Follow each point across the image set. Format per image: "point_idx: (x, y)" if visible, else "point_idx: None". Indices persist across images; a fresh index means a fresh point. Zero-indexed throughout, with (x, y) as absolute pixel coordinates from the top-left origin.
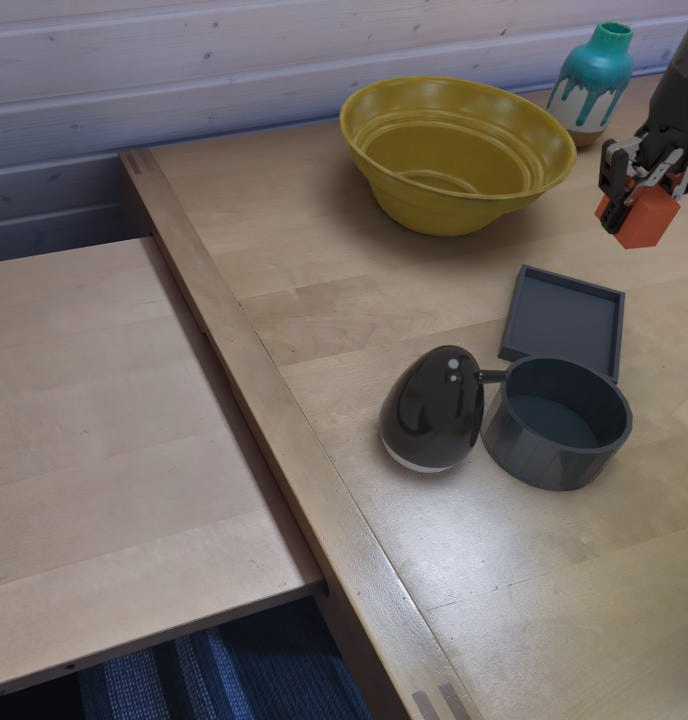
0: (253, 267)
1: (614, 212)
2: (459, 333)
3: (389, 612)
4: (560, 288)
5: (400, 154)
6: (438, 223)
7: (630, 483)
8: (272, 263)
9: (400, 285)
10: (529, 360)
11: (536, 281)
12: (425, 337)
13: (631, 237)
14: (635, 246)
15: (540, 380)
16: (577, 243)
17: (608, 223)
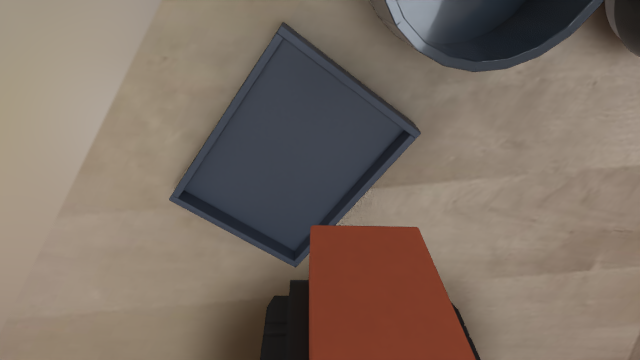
0: (611, 304)
1: (477, 356)
2: (439, 173)
3: None
4: (253, 224)
5: None
6: None
7: None
8: (585, 306)
9: (461, 258)
10: (495, 60)
11: (280, 239)
12: (489, 174)
13: (430, 259)
14: (387, 231)
15: (431, 45)
16: (182, 290)
17: (460, 317)
